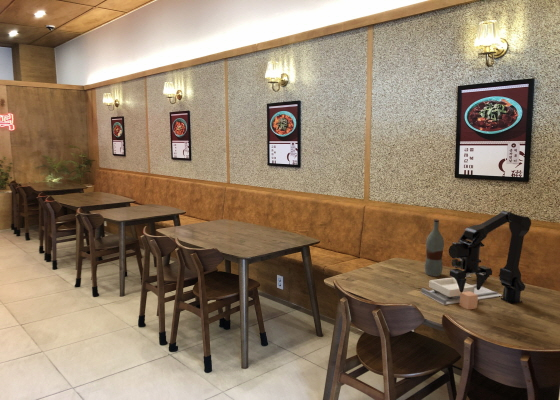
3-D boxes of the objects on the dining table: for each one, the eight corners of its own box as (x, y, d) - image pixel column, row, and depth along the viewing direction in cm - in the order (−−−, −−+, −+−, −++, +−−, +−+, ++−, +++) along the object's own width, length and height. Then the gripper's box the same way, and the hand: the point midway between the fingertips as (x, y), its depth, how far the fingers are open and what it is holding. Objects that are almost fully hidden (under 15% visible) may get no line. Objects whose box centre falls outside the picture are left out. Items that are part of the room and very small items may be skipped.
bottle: (421, 271, 243) (424, 218, 239) (436, 270, 245) (439, 218, 240) (429, 277, 234) (433, 221, 230) (445, 276, 236) (449, 221, 231)
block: (476, 308, 193) (478, 295, 192) (467, 309, 191) (468, 296, 190) (468, 304, 197) (469, 291, 196) (459, 305, 195) (460, 292, 195)
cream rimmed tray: (473, 297, 202) (474, 286, 202) (449, 300, 198) (449, 290, 197) (452, 287, 215) (452, 277, 215) (428, 290, 211) (429, 280, 210)
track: (502, 296, 207) (502, 291, 207) (443, 304, 196) (444, 300, 195) (476, 285, 222) (477, 280, 222) (420, 292, 210) (421, 288, 210)
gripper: (475, 250, 201) (472, 282, 204) (441, 253, 195) (439, 287, 197) (494, 256, 191) (491, 290, 193) (460, 260, 185) (457, 296, 187)
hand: (469, 291), depth 193 cm, fingers open, 9 cm apart
